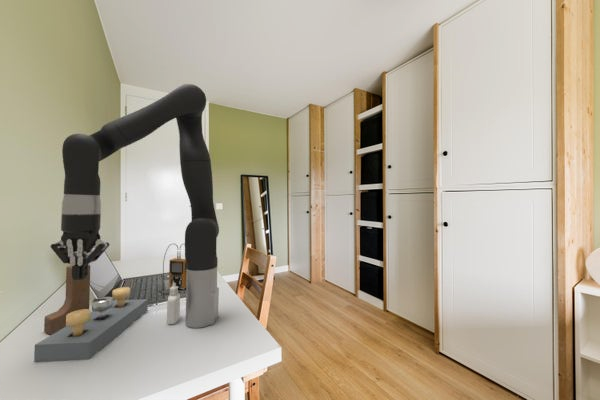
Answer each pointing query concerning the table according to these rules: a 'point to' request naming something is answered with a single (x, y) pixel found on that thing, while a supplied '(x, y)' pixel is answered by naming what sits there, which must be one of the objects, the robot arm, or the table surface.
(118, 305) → the knob right
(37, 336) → the table surface
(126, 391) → the table surface
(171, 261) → the multimeter
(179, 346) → the table surface
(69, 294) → the wooden block
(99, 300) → the dial middle
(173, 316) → the eye dropper bottle
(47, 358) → the panel
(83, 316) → the knob left
